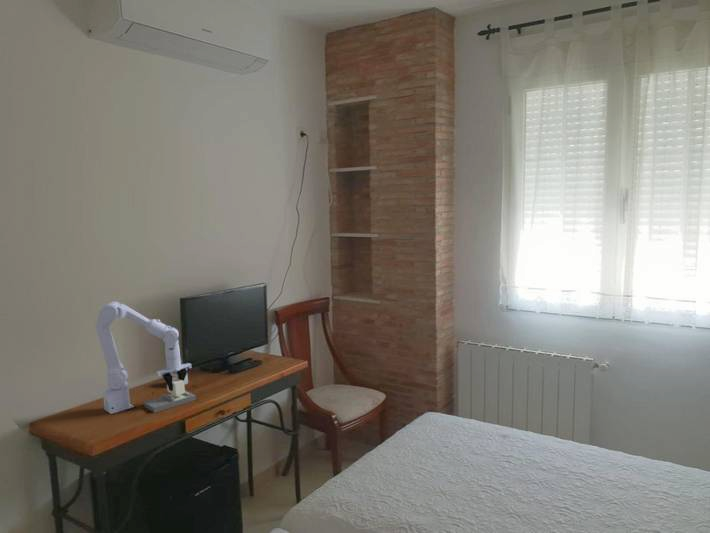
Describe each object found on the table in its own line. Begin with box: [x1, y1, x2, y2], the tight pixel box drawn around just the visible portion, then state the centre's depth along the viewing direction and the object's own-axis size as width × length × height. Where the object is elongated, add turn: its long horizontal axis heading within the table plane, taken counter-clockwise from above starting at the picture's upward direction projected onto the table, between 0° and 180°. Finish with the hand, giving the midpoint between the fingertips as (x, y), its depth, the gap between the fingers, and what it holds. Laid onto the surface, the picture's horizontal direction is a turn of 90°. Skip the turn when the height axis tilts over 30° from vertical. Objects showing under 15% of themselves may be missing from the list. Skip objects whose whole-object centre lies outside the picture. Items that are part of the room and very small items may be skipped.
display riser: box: [143, 390, 197, 413], centre depth 225 cm, size 18×10×3 cm, turn 134°
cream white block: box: [166, 377, 186, 395], centre depth 227 cm, size 4×8×5 cm, turn 44°
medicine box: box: [170, 369, 189, 386], centre depth 250 cm, size 8×4×9 cm, turn 62°
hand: (176, 388), depth 227 cm, fingers closed on cream white block, 4 cm apart
